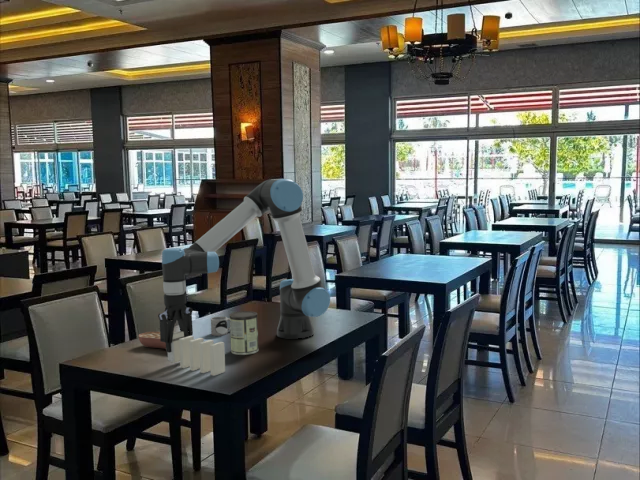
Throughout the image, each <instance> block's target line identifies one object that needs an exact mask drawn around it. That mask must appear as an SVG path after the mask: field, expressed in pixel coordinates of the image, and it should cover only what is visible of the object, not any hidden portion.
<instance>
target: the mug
mask: <svg viewBox="0 0 640 480" xmlns="http://www.w3.org/2000/svg"><path fill="white" fill-rule="evenodd" d="M228 322H230V317H227V316H222V315H221V316H219V315H218V316H213V317H211V318H210V326H211V328H210V331H211V332H210V333H211V334H210V335H211V336H213V337H214V336H215V337H216V336H217V337H222V336H227V335H228V332H230V326H229V327H228Z"/></svg>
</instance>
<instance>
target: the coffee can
mask: <svg viewBox="0 0 640 480" xmlns="http://www.w3.org/2000/svg"><path fill="white" fill-rule="evenodd" d="M229 318H230V321H229V327H230V330H229V333H230V348H231V349H230V352H231V354H233V355H239V356H245V355H246V356H247V355H252V354H256V353H258V352H259V331H258V313H257V312H255V311H252V310H251V311H249V310H248V311H247V310H242V311H235V312H232V313H230V314H229Z"/></svg>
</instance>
